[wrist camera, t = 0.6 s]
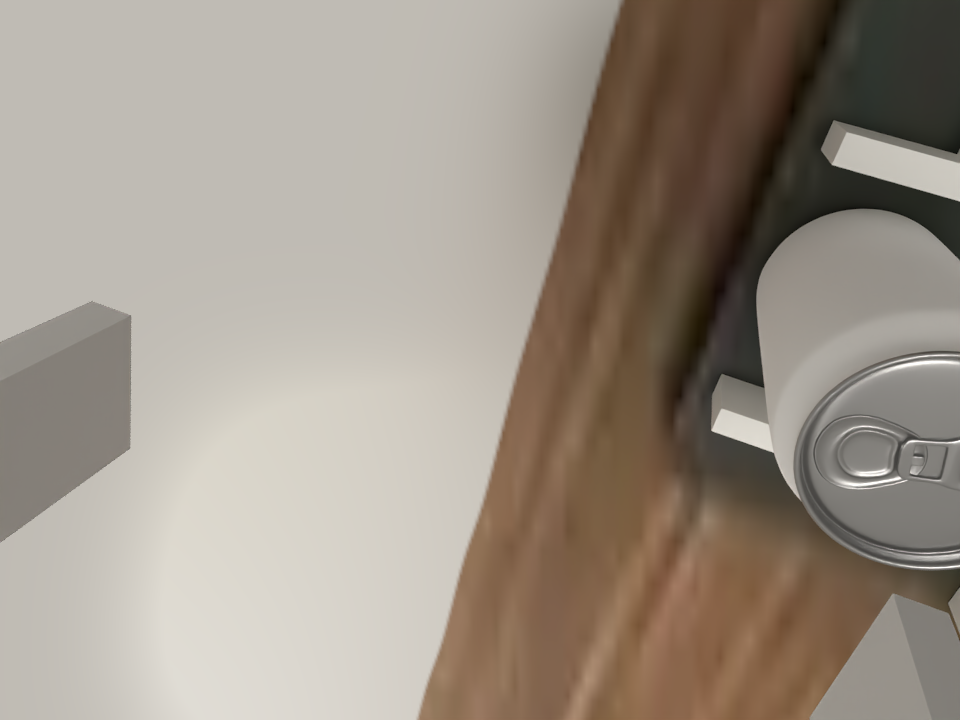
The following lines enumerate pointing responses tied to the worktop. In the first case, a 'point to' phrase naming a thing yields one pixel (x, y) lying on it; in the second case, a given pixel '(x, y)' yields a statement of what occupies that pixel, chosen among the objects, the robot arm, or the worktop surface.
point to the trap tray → (875, 155)
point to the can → (867, 383)
